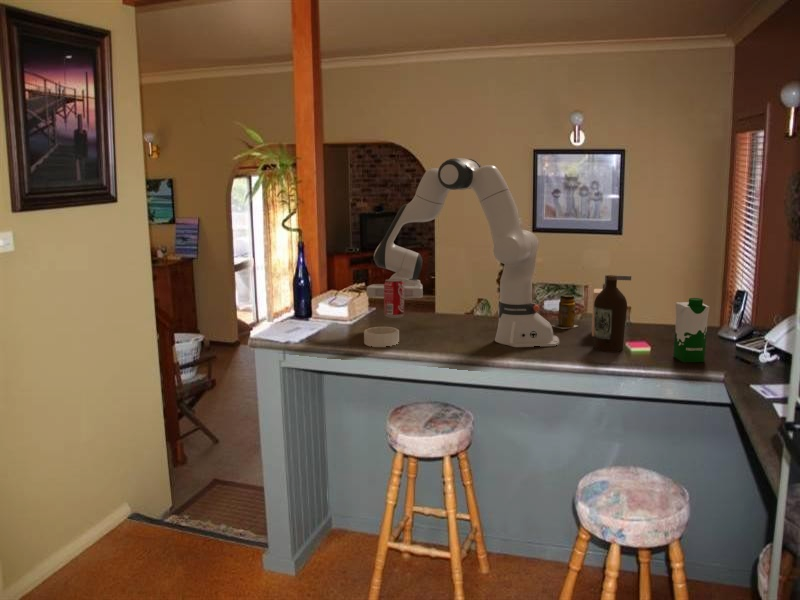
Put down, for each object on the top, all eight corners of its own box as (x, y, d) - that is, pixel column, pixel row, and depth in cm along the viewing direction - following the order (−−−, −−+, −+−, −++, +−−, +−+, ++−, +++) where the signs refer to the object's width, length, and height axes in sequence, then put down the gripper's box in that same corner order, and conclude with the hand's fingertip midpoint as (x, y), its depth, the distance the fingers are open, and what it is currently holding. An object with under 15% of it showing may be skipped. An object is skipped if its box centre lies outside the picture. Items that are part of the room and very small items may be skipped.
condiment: (579, 326, 274) (580, 295, 271) (564, 329, 269) (565, 298, 266) (564, 323, 279) (565, 293, 277) (549, 326, 274) (550, 295, 272)
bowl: (400, 339, 257) (400, 326, 256) (396, 347, 245) (396, 334, 244) (367, 338, 258) (367, 326, 257) (362, 346, 246) (361, 334, 245)
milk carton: (681, 363, 222) (685, 300, 218) (669, 355, 230) (673, 295, 227) (708, 362, 222) (713, 300, 218) (695, 355, 231) (700, 294, 227)
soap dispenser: (591, 336, 257) (594, 276, 253) (592, 331, 265) (594, 273, 261) (628, 338, 254) (631, 277, 250) (628, 333, 262) (631, 274, 258)
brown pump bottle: (605, 342, 248) (608, 272, 243) (631, 348, 239) (635, 275, 235) (585, 347, 242) (588, 275, 237) (611, 354, 233) (615, 279, 228)
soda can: (401, 318, 245) (401, 281, 243) (381, 317, 247) (381, 280, 245) (406, 316, 251) (406, 279, 250) (386, 314, 253) (387, 278, 252)
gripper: (369, 279, 261) (362, 285, 248) (424, 280, 259) (421, 286, 246) (369, 295, 263) (363, 303, 249) (424, 296, 260) (421, 304, 247)
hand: (392, 295), depth 247 cm, fingers closed on soda can
